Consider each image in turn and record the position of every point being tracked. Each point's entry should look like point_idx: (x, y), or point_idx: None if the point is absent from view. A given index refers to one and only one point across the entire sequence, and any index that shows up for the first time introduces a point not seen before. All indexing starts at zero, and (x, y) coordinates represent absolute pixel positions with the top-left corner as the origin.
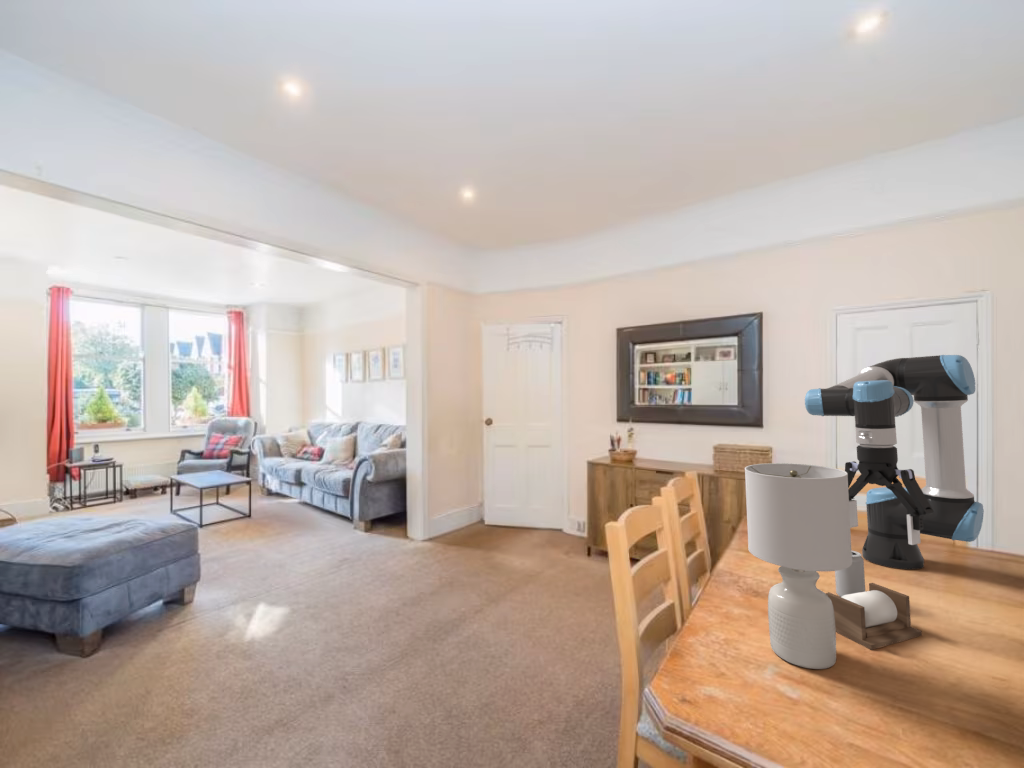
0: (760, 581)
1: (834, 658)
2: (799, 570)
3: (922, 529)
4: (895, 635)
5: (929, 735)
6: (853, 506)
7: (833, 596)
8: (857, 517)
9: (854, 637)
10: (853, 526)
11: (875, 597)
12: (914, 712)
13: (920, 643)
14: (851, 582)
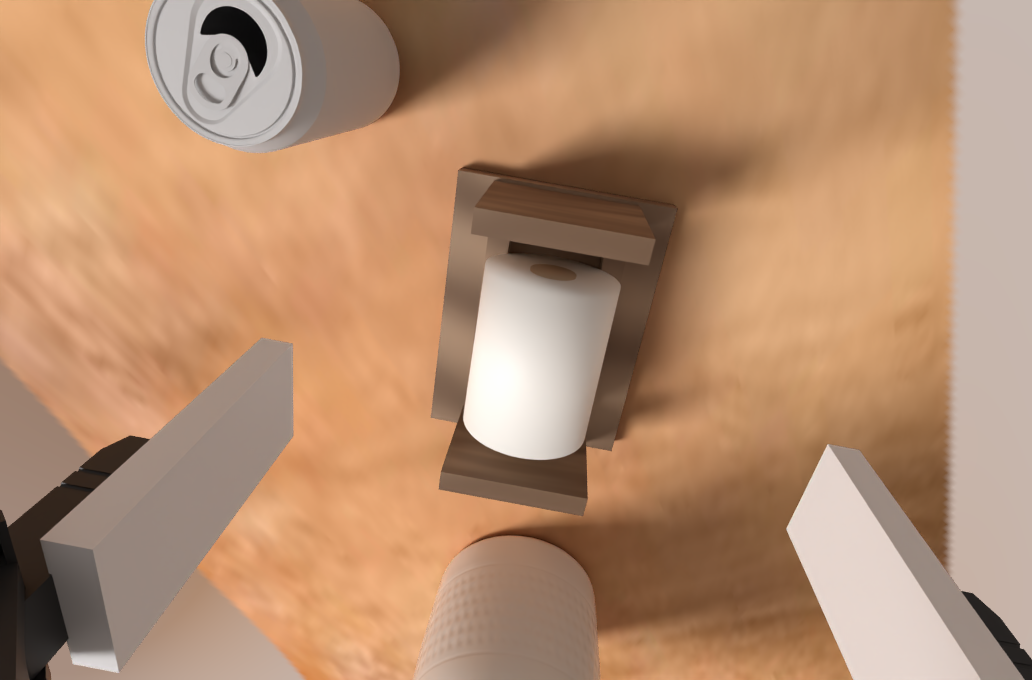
0: (79, 250)
1: (594, 602)
2: None
3: (973, 603)
4: (631, 327)
5: (816, 660)
6: (162, 538)
7: (472, 494)
8: (245, 392)
9: None
10: (290, 404)
11: (566, 371)
12: (777, 617)
13: (690, 275)
14: (348, 126)
